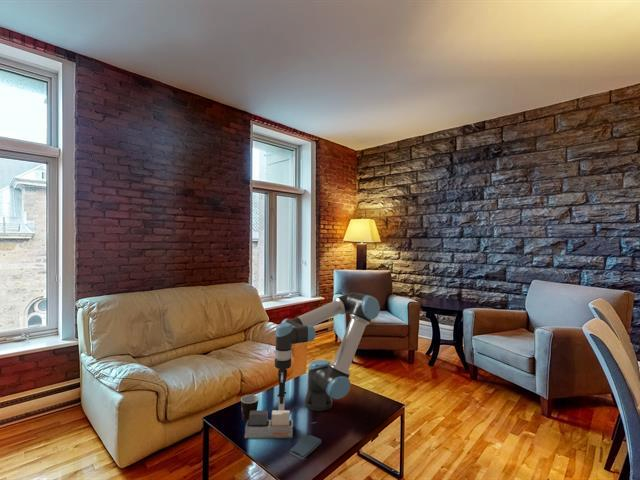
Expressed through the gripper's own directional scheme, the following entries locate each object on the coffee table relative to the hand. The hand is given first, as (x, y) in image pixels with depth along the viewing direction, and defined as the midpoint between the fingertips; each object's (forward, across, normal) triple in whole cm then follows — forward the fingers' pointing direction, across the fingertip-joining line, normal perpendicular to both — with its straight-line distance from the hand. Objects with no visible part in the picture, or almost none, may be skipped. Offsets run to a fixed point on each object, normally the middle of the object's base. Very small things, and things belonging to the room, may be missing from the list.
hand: (281, 409), depth 149 cm
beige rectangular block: (+10, 0, 0) cm, 10 cm away
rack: (+11, 0, -5) cm, 12 cm away
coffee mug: (+11, -12, -16) cm, 23 cm away
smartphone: (+11, +11, +12) cm, 19 cm away
